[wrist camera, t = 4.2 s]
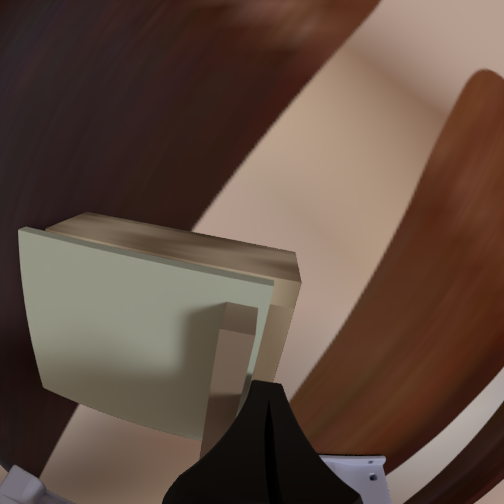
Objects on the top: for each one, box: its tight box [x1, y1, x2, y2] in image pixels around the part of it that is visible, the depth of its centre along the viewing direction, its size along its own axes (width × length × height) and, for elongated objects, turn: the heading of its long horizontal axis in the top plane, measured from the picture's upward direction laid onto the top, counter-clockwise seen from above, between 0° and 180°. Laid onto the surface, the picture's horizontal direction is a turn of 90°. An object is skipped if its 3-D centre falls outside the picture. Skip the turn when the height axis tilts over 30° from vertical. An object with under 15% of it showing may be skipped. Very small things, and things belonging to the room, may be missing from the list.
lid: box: [18, 227, 274, 460], centre depth 13 cm, size 12×10×3 cm
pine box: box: [45, 212, 301, 396], centre depth 16 cm, size 12×10×4 cm
